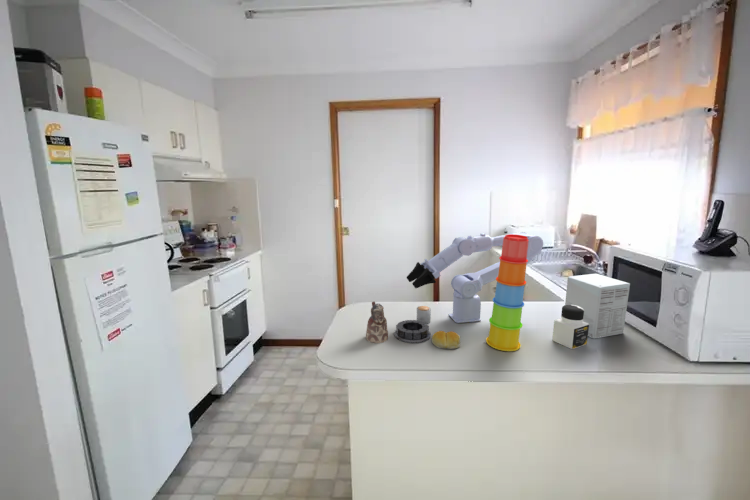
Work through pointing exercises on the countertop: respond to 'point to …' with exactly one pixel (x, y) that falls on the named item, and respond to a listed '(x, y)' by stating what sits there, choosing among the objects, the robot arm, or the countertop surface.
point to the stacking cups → (509, 294)
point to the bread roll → (446, 340)
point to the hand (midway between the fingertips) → (410, 282)
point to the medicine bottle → (571, 327)
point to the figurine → (377, 325)
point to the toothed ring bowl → (412, 331)
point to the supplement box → (599, 302)
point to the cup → (424, 314)
